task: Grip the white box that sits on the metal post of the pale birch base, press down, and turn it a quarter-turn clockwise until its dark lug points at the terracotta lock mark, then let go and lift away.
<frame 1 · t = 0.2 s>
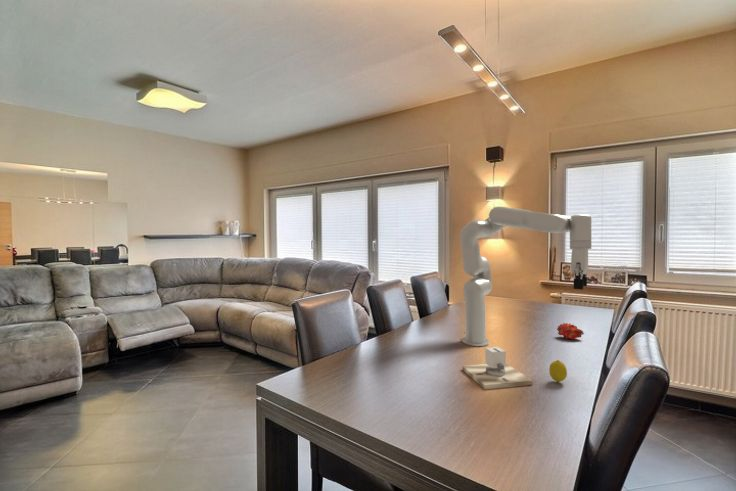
hand: (580, 287, 142), 31 cm above the table, tool pointing down, fingers open, 9 cm apart
dragon fruit: (570, 339, 176), on the table
lemon: (558, 383, 125), on the table
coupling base: (495, 376, 131), on the table
white box: (496, 358, 129), point 7 cm above the table, hinge at 0.0°
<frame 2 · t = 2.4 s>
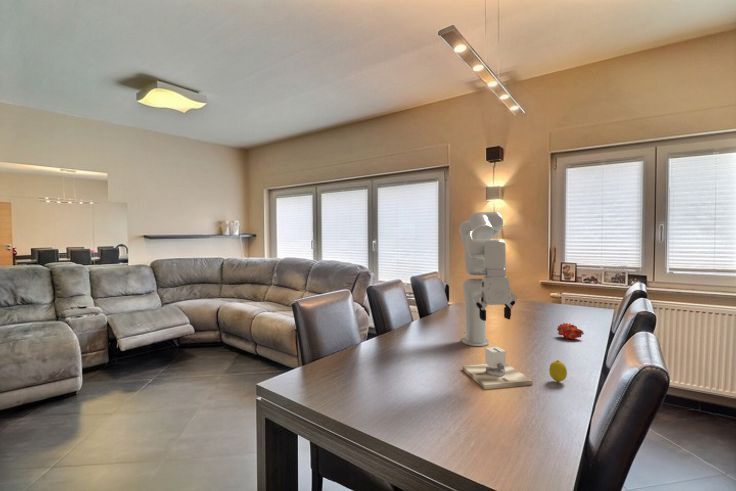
hand: (495, 319, 130), 22 cm above the table, tool pointing down, fingers open, 9 cm apart
nothing on the table moved.
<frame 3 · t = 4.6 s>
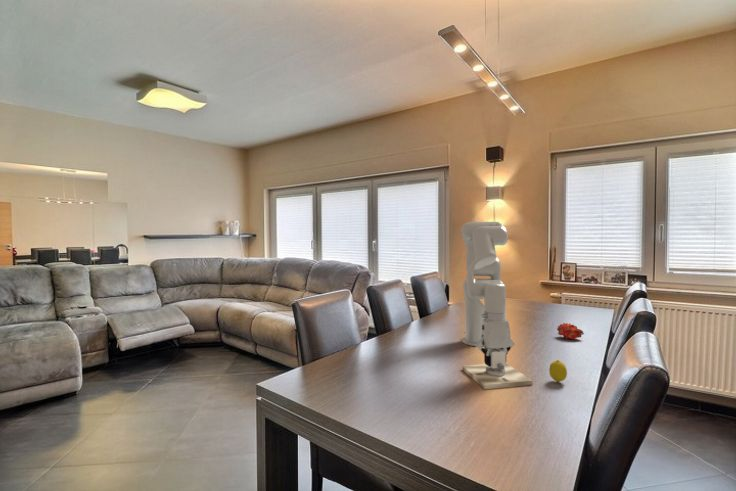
hand: (495, 364, 130), 5 cm above the table, tool pointing down, fingers closed on white box, 5 cm apart
white box: (496, 358, 129), point 7 cm above the table, hinge at 0.0°, touching gripper
everything else where it was.
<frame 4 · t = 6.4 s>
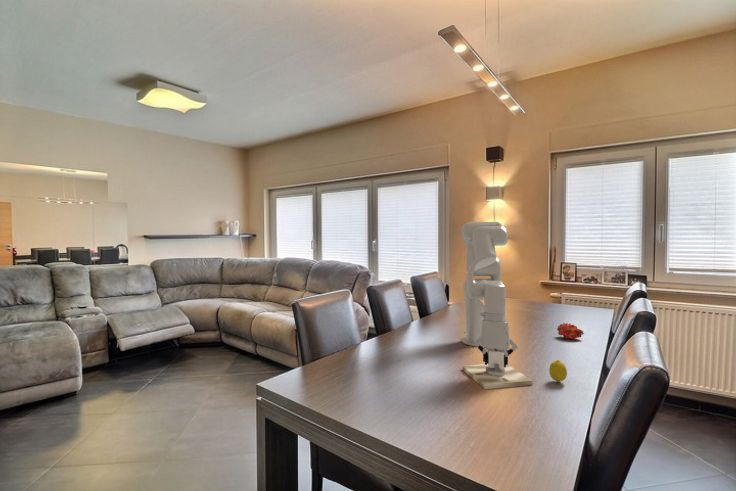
hand: (495, 364, 130), 5 cm above the table, tool pointing down, fingers closed on white box, 5 cm apart
white box: (495, 358, 129), point 7 cm above the table, hinge at -22.3°, touching gripper
everything else where it was.
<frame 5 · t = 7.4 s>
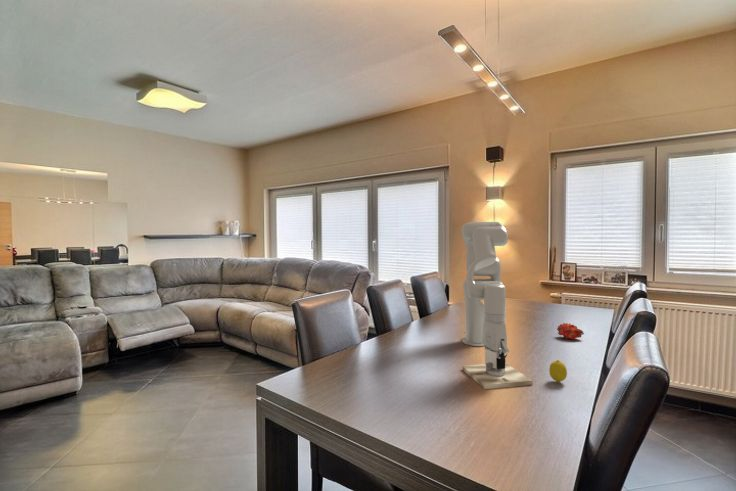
hand: (495, 364, 130), 5 cm above the table, tool pointing down, fingers closed on white box, 7 cm apart
white box: (493, 357, 130), point 7 cm above the table, hinge at -64.5°, touching gripper
everything else where it was.
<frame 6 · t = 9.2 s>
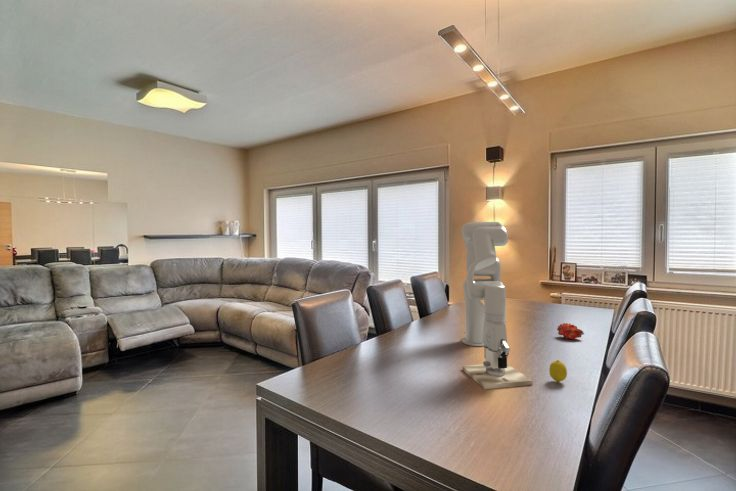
hand: (495, 363, 130), 5 cm above the table, tool pointing down, fingers open, 9 cm apart
white box: (492, 357, 130), point 7 cm above the table, hinge at -86.3°
everything else where it was.
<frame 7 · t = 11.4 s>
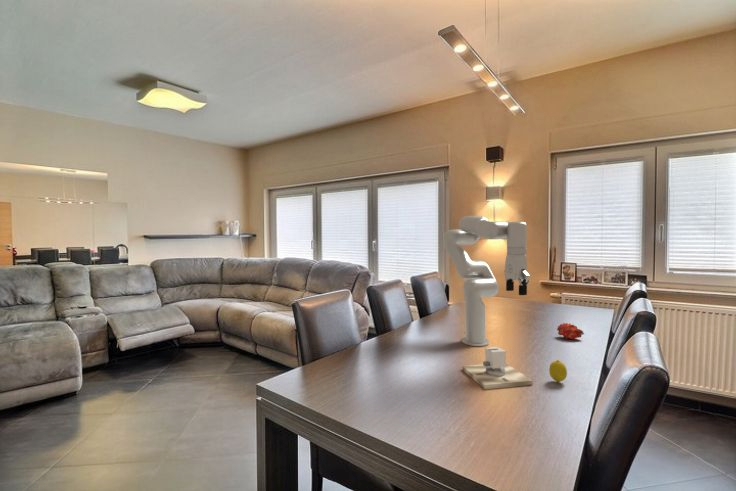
hand: (516, 292, 145), 29 cm above the table, tool pointing down, fingers open, 9 cm apart
white box: (492, 357, 130), point 7 cm above the table, hinge at -87.6°
everything else where it was.
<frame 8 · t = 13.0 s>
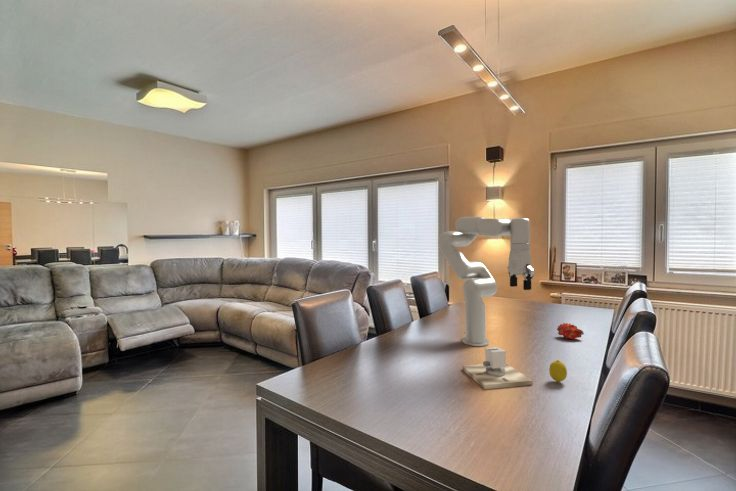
hand: (520, 288, 148), 30 cm above the table, tool pointing down, fingers open, 9 cm apart
nothing on the table moved.
at the end: white box at -88° (first picture: +0°); the gripper is holding nothing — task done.
